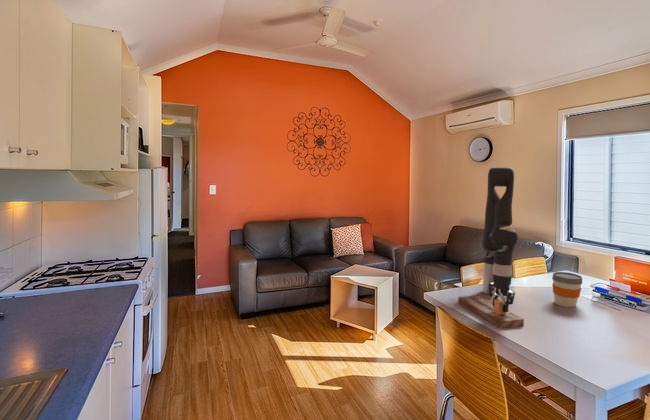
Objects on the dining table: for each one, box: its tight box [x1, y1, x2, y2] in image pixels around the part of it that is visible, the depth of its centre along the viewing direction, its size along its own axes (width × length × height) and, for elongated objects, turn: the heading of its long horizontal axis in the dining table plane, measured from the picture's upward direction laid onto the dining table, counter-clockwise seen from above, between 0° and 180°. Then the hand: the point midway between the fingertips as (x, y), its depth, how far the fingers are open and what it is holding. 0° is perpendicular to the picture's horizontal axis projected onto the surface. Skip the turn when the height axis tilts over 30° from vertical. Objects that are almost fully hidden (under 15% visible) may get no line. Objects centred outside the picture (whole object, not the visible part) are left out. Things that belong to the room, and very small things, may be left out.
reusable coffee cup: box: [551, 271, 583, 308], centre depth 172 cm, size 12×13×15 cm
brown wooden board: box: [457, 294, 525, 329], centre depth 161 cm, size 12×30×3 cm, turn 12°
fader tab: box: [494, 298, 506, 315], centre depth 153 cm, size 4×3×6 cm
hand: (500, 309), depth 153 cm, fingers open, 5 cm apart
